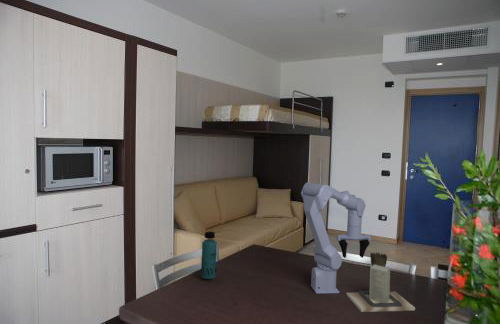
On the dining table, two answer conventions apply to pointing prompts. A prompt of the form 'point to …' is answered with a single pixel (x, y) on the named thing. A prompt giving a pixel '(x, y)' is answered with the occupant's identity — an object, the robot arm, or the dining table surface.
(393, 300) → the socket board
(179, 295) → the dining table surface
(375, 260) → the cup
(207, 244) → the beverage bottle
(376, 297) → the skincare box
